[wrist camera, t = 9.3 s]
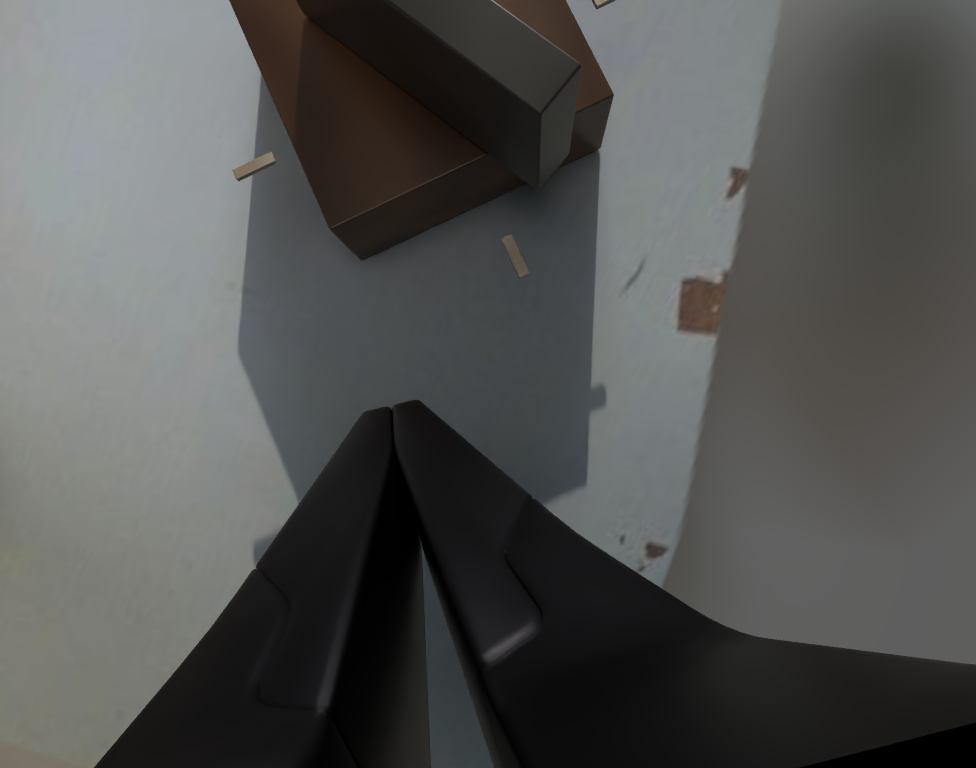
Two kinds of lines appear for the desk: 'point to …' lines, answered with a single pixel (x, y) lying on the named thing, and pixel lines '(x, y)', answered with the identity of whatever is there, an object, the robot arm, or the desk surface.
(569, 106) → the red-tipped grey slab
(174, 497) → the desk surface
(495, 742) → the robot arm
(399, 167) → the panel
